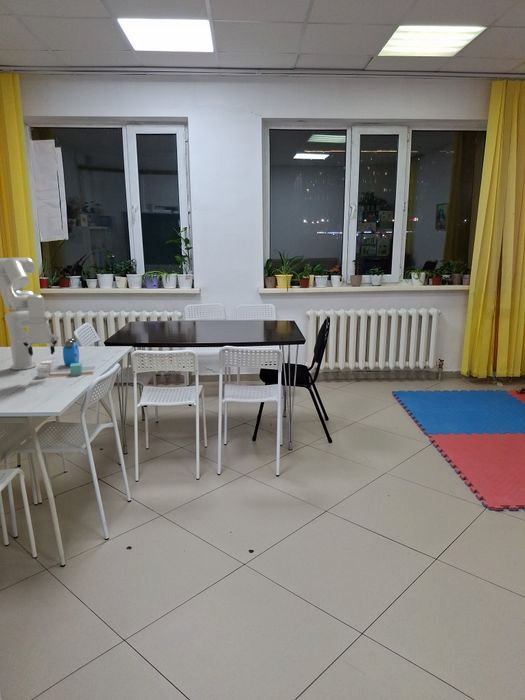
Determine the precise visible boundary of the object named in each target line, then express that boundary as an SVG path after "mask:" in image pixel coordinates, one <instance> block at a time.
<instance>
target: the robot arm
mask: <svg viewBox="0 0 525 700" xmlns="http://www.w3.org/2000/svg"><path fill="white" fill-rule="evenodd" d="M32 259H33V258H30V257H28V256H24V257H23V256H22V257H0V294H1V297H2V301H3V304H4V306H5V308H6V309H8V310H10V311H7V313H6V314H5V316H4V320H5V324H6V326H7V331H8V334H9V335H8V336H9V342H10V351H11V358H12V364H11V365H10V370H13V371H14V370H15V371H21V370H22V369H23V370H29V369H32V368H33V369H34V368H35V367H36V366H37V363H36V362H33V355H34V353H33V347H32V345H36V344H37V345H39V344H49V346H50V347H49V348H50V354H51V355H54V353H55V352H56V351H55V346H56V344H57V343H58V341H59V338H60V337H59V336H58V335H55V334H53V333H52V332H51V331H52V330H51V327H50V323H49V322H48V321H50V317H47V314H46V309H45V308H46V306H45V300H44V299H45V298H44V296H43V295H40V294H38V293H34V292H33V291H32V290H29V289H27V290H21V289H24V288H26V287H27V286H28V285H29V283H30V278H29V276H28V274H33V273H34V272H35V270H36V266H35V262H34V261H33V260H32ZM24 328H27V330H25V329H24ZM53 339H54V340H53Z"/></svg>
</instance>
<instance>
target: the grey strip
mask: <svg viewBox="0 0 525 700" xmlns="http://www.w3.org/2000/svg"><path fill="white" fill-rule="evenodd" d="M41 365H49V372H50V374H52V373H67V372H70V367H62V368H54V366H53V365H54V363H53V360H42V362H41V363H40V366H41ZM95 369H96V366H95V365H94V366H93V365H92V366H82V371H94V370H95Z"/></svg>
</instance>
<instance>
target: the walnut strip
mask: <svg viewBox="0 0 525 700" xmlns="http://www.w3.org/2000/svg"><path fill="white" fill-rule="evenodd" d="M36 369H37V370H36V371H37V379H49V378H51V379H52V378H62V377H63V378H64V377H65V378H66V377H79V376H93V374H94V372H95V371H94V370H86V371H82V374H81V375H72V376H71V372H56V373H50V372H49V365H41V364H40V365H38V367H37V368H36Z"/></svg>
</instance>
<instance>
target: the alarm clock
mask: <svg viewBox="0 0 525 700" xmlns="http://www.w3.org/2000/svg"><path fill="white" fill-rule="evenodd" d="M62 346H63V347H62V358H63V364H64V365H65V366H67V367H70V365H71V364H73V363H80V349H79V345H78V342H77V340H76V339H74V338H68V339H67V340H66V341H65V342H64V344H63V345H62Z"/></svg>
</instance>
